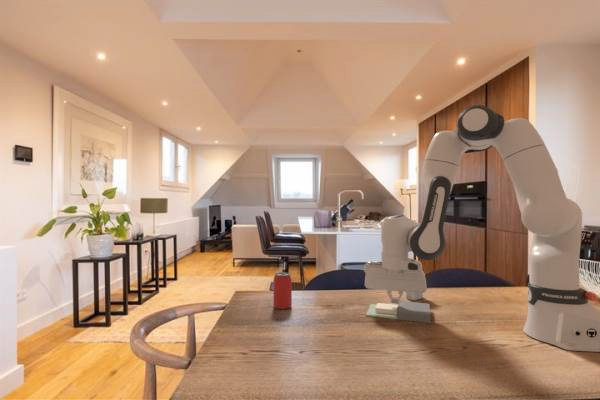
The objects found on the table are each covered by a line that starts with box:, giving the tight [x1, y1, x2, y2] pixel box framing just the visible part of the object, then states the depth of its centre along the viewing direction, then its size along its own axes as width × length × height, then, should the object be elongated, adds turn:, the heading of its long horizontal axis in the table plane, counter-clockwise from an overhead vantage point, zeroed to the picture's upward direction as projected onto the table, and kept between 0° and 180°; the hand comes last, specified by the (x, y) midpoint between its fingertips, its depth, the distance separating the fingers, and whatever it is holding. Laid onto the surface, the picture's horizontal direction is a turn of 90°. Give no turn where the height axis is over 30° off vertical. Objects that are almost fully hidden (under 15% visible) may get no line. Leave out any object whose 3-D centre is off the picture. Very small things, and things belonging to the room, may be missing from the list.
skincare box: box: [405, 292, 424, 301], centre depth 129 cm, size 6×4×12 cm
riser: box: [396, 300, 432, 324], centre depth 109 cm, size 10×12×2 cm
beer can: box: [272, 271, 293, 310], centre depth 118 cm, size 7×7×12 cm
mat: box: [365, 303, 398, 320], centre depth 112 cm, size 10×12×1 cm
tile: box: [375, 302, 399, 315], centre depth 112 cm, size 7×6×2 cm
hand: (395, 303), depth 111 cm, fingers closed
